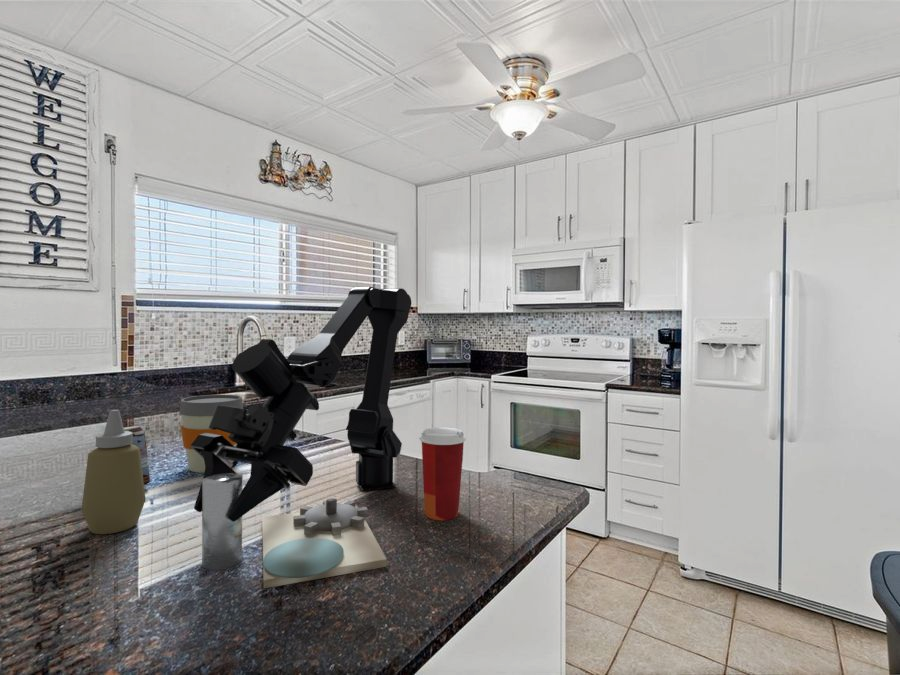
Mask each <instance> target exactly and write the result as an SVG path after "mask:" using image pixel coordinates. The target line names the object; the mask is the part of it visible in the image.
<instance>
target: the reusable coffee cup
mask: <svg viewBox="0 0 900 675" xmlns="http://www.w3.org/2000/svg"><path fill="white" fill-rule="evenodd" d="M179 405H180V406H179V415H181V421H182V423H181V424H182V425H180V430H181V438H182V444H183V448H184V449H185V451H186V457H187V465H188V470H189V471H190V472H194V473H203V474H204V472H205V462H204V459H203V458H202V457H201V456H200V455H199V454H198V453H197V452H196V451H195V450H193V449H192V448H191V447H190V446H191V444H192V443H193V441H194V440H195V439H196V438H197V436H198V435H199V434H204V433H210V434H216V435H222V436H223V437H224V438H225V439H227V440H228V441H229V442H230V443H231V444H232V445H233V446H234V447H236V445H237V443H236V442H233V441H232V440H231V439H230V438H228V436H229V435H230V434H231V433H227V432H224V431H221V430H218V429H216V430H213V429H210V428H209V425H210V423H211V420H212V418H213V415H214V412H215V410H216V407H217V405H220V406H228V407H236V408H240V409H244V404H243V397H242V396H240V395H236V394H205V395H195V396H188V397H183V398H181V400H180V404H179Z"/></svg>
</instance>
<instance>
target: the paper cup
mask: <svg viewBox="0 0 900 675" xmlns="http://www.w3.org/2000/svg"><path fill="white" fill-rule="evenodd" d="M418 440H419V441H420V442H421V456H422V457H421V460H422V480H423V481H422V482H423V484H422V485H423V500H424V501H423V504H424V516H425V517H426V518H427V519H430V520H433V521H441V522H442V521H445V522H446V521H451V520H453V519H456V518H457V517H458V515H459V508H460V494H461V485H462V484H461V482H462V473H463V472H462V470H463V460H464V459H463V458H464V443H465V441H466V437H465V436H464V432H463V430H461V429H459V428H455V427H454V428H453V427H444V426H442V427H441V426H440V427H430V428H425V429H424V430H423V431H422V432H421V436H419V437H418Z"/></svg>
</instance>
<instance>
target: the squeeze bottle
mask: <svg viewBox="0 0 900 675" xmlns="http://www.w3.org/2000/svg"><path fill="white" fill-rule="evenodd" d="M124 428H125V427H124V424H123V421H122V416H121V413H120V409H110V410H109V413H108V417H107V420H106V425H105V427H104V431H103V433H99V434H97V435H95V447H96V448H94V449H91V451H89V452H88V454H87V461H86V470H85V478H84V487H83V493H82V504H81V512H82V515H83V517H84V520H85V522H86V524H87V527H88V528H89V531H90V533H92V534H95V535H108V534H115V533H120V532H123V531H127V530H129V529H131V528H133V527H135V526H136V525H137V524H138V523H139V520H140V516H141V513H142V511H143V509H144V506H145V503H146V500H147V499H146V490H145V487H144V481H143V473H142V464H141V456H140V449H139V447H137V446H136V445H132V444H131V443H133V433H132V432H129V431H124Z"/></svg>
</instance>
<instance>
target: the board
mask: <svg viewBox="0 0 900 675" xmlns="http://www.w3.org/2000/svg"><path fill="white" fill-rule="evenodd" d="M368 510H369V509H368V508H367V506H364V507H363V506H362V507H359V505H357V504H356V501H355V500H354V501H353V500H348V501H345V502H343V503H338V500H337V498H334V497H332V498H331V497H330V498H327V499H326V500H323V501H322V504H320V505H317V506H314V507H313V506H307V505H304V506H302V507H300V508H299V512H292V513H285V514H284V513H282V514H276V515H275V514H274V515H268V516H261V531H262V532H261V534H262V536H261V537H262V539H261V540H262V568H263V569H262V572H263V573H262V574H263V578H262V579H263V582H262V583H263V589H268V588H275V587H280V586H285V585H292V584H296V583H301V582H307V581H315V580H318V579H319V580H320V579H323V578H329V577H335V576H340V575H341V576H342V575H348V574H354V573H358V572H363V571H364V572H365V571H369V570H377V569H381V568H386V567H387V565H388V564H387V562H388V561H387V560H388V559H387V557H386V555H385V553H384V552H383V550H382V548H381V545H380V544H379V543H378V540H377V539H376V537H375V535H374V534H373V531H372V529H371V528H370V526H369V524H368V522H367V521H366V519H365V518H368V517H369V516H368V515H369V512H368Z"/></svg>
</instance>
